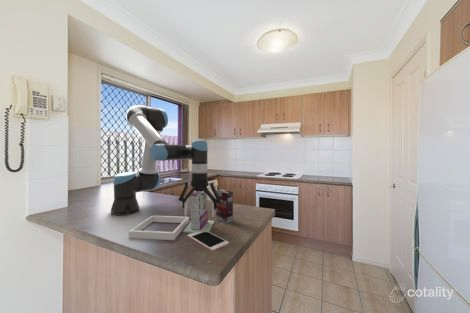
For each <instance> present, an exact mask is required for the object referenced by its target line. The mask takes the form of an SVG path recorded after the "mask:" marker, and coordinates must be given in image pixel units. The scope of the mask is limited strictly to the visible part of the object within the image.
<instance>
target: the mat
mask: <svg viewBox="0 0 470 313" xmlns="http://www.w3.org/2000/svg"><path fill="white" fill-rule="evenodd" d="M214 224H215V220H208V221H207V223H206V224H205V225H204V226H203V227H202V229H201V230H192V229H191V221H189V223H188V224H187V225H186V227H185V228H184V229H183V230H182V232H183V233H189V234H191V233H194V232H210V231H211V229H212V227H213V225H214ZM210 233H211V232H210Z"/></svg>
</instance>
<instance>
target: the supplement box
mask: <svg viewBox="0 0 470 313" xmlns="http://www.w3.org/2000/svg"><path fill="white" fill-rule="evenodd" d="M216 191H217V193H218V195H219V197H220V201H219V202H217V208H216V209H215V212H216V213H215V215H216V216H215V217H216V218H215V219H216V220H218V221H220V222H223V223H226V224H228V223H231V222H233V219H234V215H233V213H234V210H233V209H234V192H233V191H230V190H226V189H219V190H218V189H217V190H216Z"/></svg>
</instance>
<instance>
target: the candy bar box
mask: <svg viewBox="0 0 470 313" xmlns="http://www.w3.org/2000/svg"><path fill="white" fill-rule="evenodd" d="M207 221H209V220H208V195H207V194H206V193H205V192H204V191H202V192H200V191H198V192H196V191H194V192H193V193H192V194H191V195H190V222H191V229H192V230H201V229H202V227H203V226H204V225H205V224H206V223H207Z"/></svg>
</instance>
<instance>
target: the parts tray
mask: <svg viewBox="0 0 470 313" xmlns="http://www.w3.org/2000/svg"><path fill="white" fill-rule="evenodd" d="M152 223H170V224H171V223H172V224H176V223H177V224H178V226H177V227H176V228H175V229H174V230H173V231H161V230H160V231H156V230H144V229H145V228H147V227H148V226H149V225H151V224H152ZM189 223H190V217H189V216H182V215H181V216H180V215H179V216H173V215H151V216H149V217H147V218H146V219H144V220H143V221H142V222H140V223H139V224H137V225H135V226H134V227H132V228H131V229H130V230H128V239H139V240H141V239H143V240H163V241H175V240H176V239H177V237H178V236H179V235H180V233H182V232H183V230H184V229H185V228H186V227H187V225H188V224H189Z"/></svg>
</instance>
